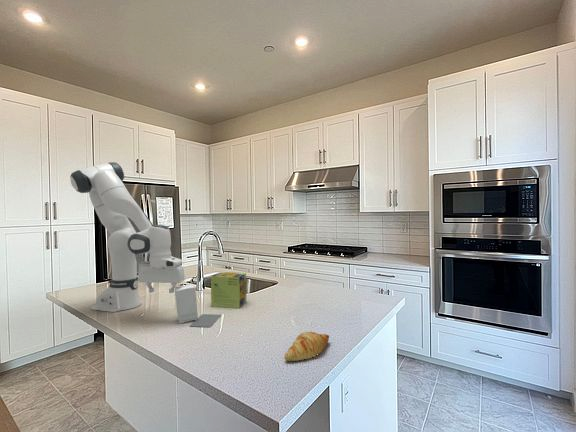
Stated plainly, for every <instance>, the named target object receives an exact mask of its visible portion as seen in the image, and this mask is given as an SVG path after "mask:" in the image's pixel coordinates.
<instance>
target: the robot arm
mask: <svg viewBox="0 0 576 432" xmlns="http://www.w3.org/2000/svg"><path fill="white" fill-rule="evenodd" d="M124 179H125V171H124V169H123V168H122V166H121V165H120V164H119V163H118V162H107V163H100V164H96V165H93V166H89V167H86V168H82V169H80V170H79V169H77V170H75V171H73V172H71V174H70V185H71V187H72V188H73V189H74V190H75V191H76V192H78V193H81V194H86V193H87V194H89V198H90V203H91V204H92V207H93V208H94V210H95V213H96V215H97V217H98V219H99V221H100V223H101V224H102V226H104V228H105V229H106V230H107V231H108V233H109V234H110V235H109V236H108V238H107V241H106V242H107V243H106V244H107V247H108V251H109V256H110V262H111V279H110V280H107V282H106V284H108V287H107V288H105V289H104V290H103V291H102V292H101V293H99V294H98V296H97V298H96V302H95V303H94V304H93V305H91V307H90V310H93V311H94V310H95V311H100V312H111V313H115V312H121V311H125V310H130V309H134V308H137V307H139V306H141V305H142V301H141V299H140V294H139V289H138V288H139V283H145V285H146V287H147V288H148V293H154V292H155V287H153V286H152V284H154V283H156V284H157V283H159V284H167V283H168V284H171V285H170V286H171V287H170V288H168V293H169V294H173V293H175V287H177V286H176V285H177V284H181V283H182V282H184V281H185V269H184V267H183V265H182V264H183V260H182V259H181V258H178V257H174V256H172V252H171V247H172V237H171V236H172V235H171V230H170V228H169V227H168V226H167V225H164V224H153V222H152V221H151V220H150V218H149V217H148V215H147V214H146V213H145V211H144V210H143V208H141V206H140V205H139V204H138V203H137V202H136V200H134V198H133V197H132V194H131V193H130V192H129V191H128V189H127V187H126V186H125V184H124V182H123V181H124ZM130 220H131V221H132V222H133V223H134V225H135V226H136V228H137V229H138V230H139V232H137V231H136V229H135V227H134V226H133V225H132V223H131V222H130ZM144 254H149V260H147V261H145V260H143V261H142V260H141V262H139V263H138V262H137V259H136V258H137V257H136V255H144ZM137 263H138V264H137ZM137 265H138V266H137Z"/></svg>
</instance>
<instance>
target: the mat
mask: <svg viewBox="0 0 576 432" xmlns="http://www.w3.org/2000/svg"><path fill="white" fill-rule="evenodd" d="M221 316H222V314H215V313H214V314H213V313H212V314H209V313H202V314H201V315H200V316H198V319H197V320H193V322H192V323H191V324H190V325H189V327H190V328H211V327H213V325H214V324H215V323H216V321H217V320H219V318H221Z"/></svg>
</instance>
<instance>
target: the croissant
mask: <svg viewBox="0 0 576 432" xmlns="http://www.w3.org/2000/svg"><path fill="white" fill-rule="evenodd" d="M329 338H330V335H328V334H326V333H317V332H313V331H305V332H301V333H299V335H297V337H296V339H295V340H293V342H292V345H291V346H290V347H289V348H288V349H287V352H285V353H284V355H283V356H284V360H285V361H288V362H293V361H294V362H297V361H299V360H300V361H305V360H304V359H306V360H310V359H309V358H311V359H313V358H312V357H315V358H316V357H317V356H318V355H317V354H319V353H320V354H321V353H322V352H323V351H324V349H325V348H326V347H327V344H328V343H329V340H330V339H329ZM320 354H319V355H320ZM316 355H317V356H316ZM300 361H299V362H300Z"/></svg>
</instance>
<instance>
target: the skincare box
mask: <svg viewBox="0 0 576 432" xmlns="http://www.w3.org/2000/svg"><path fill="white" fill-rule="evenodd" d="M174 294H175V304H176V314H177V321H178V323H179V324H183V323H188V322H191V321H195V320H197V319H198V318H199V314H198V306H197V305H198V304H197V303H198V302H197V293H196V286H195V285H194V283H191V284H187V285H182V286H175V288H174Z"/></svg>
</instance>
